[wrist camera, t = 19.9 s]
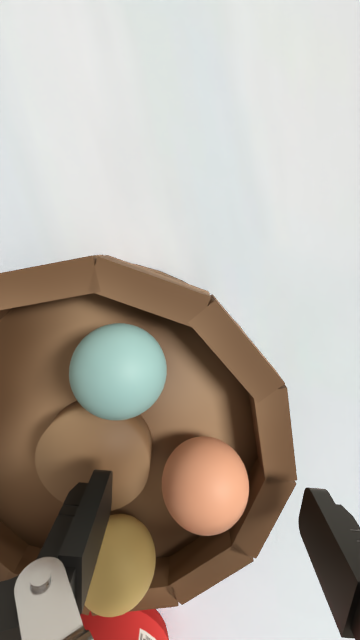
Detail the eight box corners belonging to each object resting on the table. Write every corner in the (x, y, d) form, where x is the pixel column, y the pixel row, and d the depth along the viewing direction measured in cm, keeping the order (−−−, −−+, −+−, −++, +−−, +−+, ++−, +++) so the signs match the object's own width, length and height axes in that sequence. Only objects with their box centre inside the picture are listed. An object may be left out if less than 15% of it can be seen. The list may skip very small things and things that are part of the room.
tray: (-81, 509, 18) (-128, 554, 15) (-27, 203, 14) (-79, 193, 11) (204, 592, 19) (207, 649, 16) (334, 333, 15) (367, 352, 12)
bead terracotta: (167, 416, 14) (160, 474, 11) (245, 423, 14) (265, 483, 11) (162, 481, 15) (154, 556, 12) (235, 488, 15) (250, 564, 12)
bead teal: (85, 373, 14) (38, 418, 11) (105, 301, 13) (61, 323, 10) (158, 402, 14) (136, 457, 11) (185, 332, 13) (170, 366, 9)
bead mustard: (81, 541, 16) (50, 626, 13) (100, 487, 16) (73, 561, 12) (146, 560, 17) (135, 650, 13) (168, 508, 16) (163, 587, 12)
